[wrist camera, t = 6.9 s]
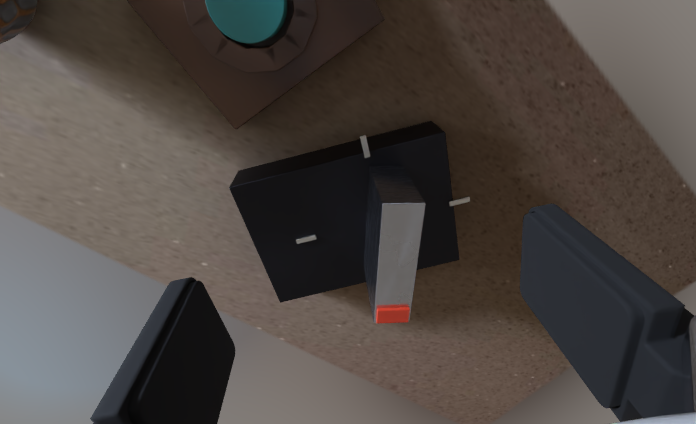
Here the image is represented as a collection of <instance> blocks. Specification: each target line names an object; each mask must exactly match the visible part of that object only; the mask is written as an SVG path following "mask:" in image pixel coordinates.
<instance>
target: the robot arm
mask: <svg viewBox="0 0 696 424" xmlns="http://www.w3.org/2000/svg"><path fill="white" fill-rule="evenodd" d="M520 291H521V294H522V297H523V299H524V300H525V302H526V303H527V304H528V306H529V307H530V308H531V310H532V311H533V313H534V314H535V315H536V317H537V318H538V319H539V321H540V322H541V324H542V325H543V326H544V328H545V329H546V330H547V332H548V333H549V335H550V336H551V337H552V339H553V340H554V341H555V343H556V344H557V346H558V347H559V348H560V350H561V351H562V352H563V354H564V355H565V357H566V358H567V359H568V361H569V362H570V363H571V365H572V366H573V367H574V369H575V370H576V372H577V373H578V374H579V376H580V377H581V379H582V380H583V381H584V383H585V384H586V385H587V387H588V388H589V390H590V391H591V392H592V394H593V395H594V396H595V398H596V399H597V400H598V402H599V403H600V404H601V405H602V406H603V407H605V408H611V410H612V411H613V412H614V414H615V415H616V416H617V418H618V419H619V421H620V422H618V423H611V424H696V316H694V315H692V314H691V313H690V312H689V311H688V310H686V309H685V308H684V306H685V305H684V304H682V303H681V302H680V301H678V300H677V299H676V298H675V297H674V296H672V295H671V294H670V293H668V292H667V291H666V290H665V289H663V288H662V287H661V286H659V285H658V284H657V283H656V282H654V281H653V280H652V279H650V278H649V277H648V276H647V275H645V274H644V273H643V272H641V271H640V270H639V269H638V268H636V267H635V266H634V265H633V264H631V263H630V262H629V261H627V260H626V259H625V258H624V257H622V256H621V255H620V254H618V253H617V252H616V251H615V250H613V249H612V248H611V247H609V246H608V245H607V244H606V243H604V242H603V241H602V240H601V239H599V238H598V237H597V236H595V235H594V234H593V233H592V232H590V231H589V230H588V229H586V228H585V227H584V226H583V225H581V224H580V223H579V222H577V221H576V220H575V219H574V218H572V217H571V216H570V215H569V214H567V213H566V212H565V211H563V210H562V209H561V208H560V207H558V206H557V205H555V204H547V205H542V206H538V207H533V208H531V209H530V210H529V214H525V215H524V218H523V234H522V254H521V275H520ZM234 357H235V346H234V343H233V341H232V339H231V337H230V335H229V333H228V331H227V329H226V327H225V325H224V323H223V322H222V320H221V318H220V316H219V314H218V312H217V310H216V308H215V306H214V304H213V302H212V300H211V298H210V296H209V294H208V293H207V291H206V289H205V287H204V285H203V283H202V282H201V281H196V280H195V279H194V278H192V277H190V278H185V279H180V280H175V281H172V282H170V283H169V285H168V286H167V288H166V290H165V292H164V293H163V295H162V297H161V299H160V300H159V302H158V304H157V305H156V307H155V309H154V310H153V312H152V314H151V316H150V317H149V319H148V321H147V322H146V324H145V326H144V328H143V329H142V331H141V333H140V334H139V336H138V338H137V340H136V341H135V343H134V345H133V346H132V348H131V350H130V352H129V353H128V355H127V357H126V359H125V360H124V362H123V364H122V365H121V367H120V369H119V371H118V372H117V374H116V376H115V377H114V379H113V381H112V382H111V384H110V386H109V388H108V389H107V391H106V393H105V395H104V396H103V398H102V400H101V401H100V403H99V405H98V406H97V408H96V410H95V412H94V413H93V415H92V417H91V418H90V419H91V420H92V421H93V422H94V423H93V424H217V422H218V418H219V414H220V411H221V407H222V403H223V399H224V395H225V391H226V387H227V384H228V380H229V376H230V372H231V368H232V364H233V360H234ZM640 418H643V419H640ZM635 419H637V420H635ZM629 420H630V421H629ZM623 421H624V422H623Z"/></svg>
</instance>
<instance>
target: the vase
mask: <svg viewBox="0 0 696 424" xmlns="http://www.w3.org/2000/svg"><path fill="white" fill-rule="evenodd" d="M36 7H37V0H0V44H1V43H3V42H5V41H8V40H10V39H12V38H13V37H15V36H16V35H18V34H19V33H21V32H22V31H23V30H24V29H25V28H26V27H27V25H28V24H29V23H30V22H31V20H32V18H33V16H34V14H35V11H36Z"/></svg>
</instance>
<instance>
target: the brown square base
mask: <svg viewBox="0 0 696 424" xmlns="http://www.w3.org/2000/svg"><path fill="white" fill-rule="evenodd" d="M127 1H128V3H129V4H130V5H131V6H132V7H133V8H134V10H135V11H136V12H137V13H138V14H139V16H140V17H141V18H142V19H143V20H144V22H145V23H146V24H147V25H148V26H149V27H150V29H151V30H152V31H153V32H154V33H155V35H156V36H157V37H158V38H159V39H160V41H161V42H162V43H163V44H164V45H165V46H166V48H167V49H168V50H169V51H170V52H171V54H172V55H173V56H174V57H175V58H176V60H177V61H178V62H179V63H180V64H181V65H182V67H183V68H184V69H185V70H186V71H187V73H188V74H189V75H190V76H191V77H192V79H193V80H194V81H195V82H196V83H197V84H198V86H199V87H200V88H201V89H202V90H203V92H204V93H205V94H206V95H207V96H208V98H209V99H210V100H211V101H212V102H213V103H214V105H215V106H216V107H217V108H218V109H219V111H220V112H221V113H222V114H223V115H224V117H225V118H226V119H227V120H228V121H229V122H230V124H231V125H232V126H233V127H234V128H235V129H238V128H239V127H240V126H242V125H243V124H244V123H246V122H247V121H248V120H250V119H251V118H252V117H254V116H255V115H257V114H258V113H259V112H261V111H262V110H263V109H265V108H266V107H267V106H269V105H270V104H271V103H273V102H274V101H275V100H277V99H278V98H279V97H281V96H282V95H283V94H285V93H286V92H288V91H289V90H290V89H292V88H293V87H294V86H296V85H297V84H298V83H300V82H301V81H302V80H304V79H305V78H306V77H308V76H309V75H310V74H312V73H313V72H315V71H316V70H317V69H319V68H320V67H321V66H323V65H324V64H325V63H327V62H328V61H329V60H331V59H332V58H333V57H335V56H336V55H337V54H339V53H340V52H341V51H343V50H344V49H346V48H347V47H348V46H350V45H351V44H352V43H354V42H355V41H356V40H358V39H359V38H360V37H362V36H363V35H364V34H366V33H367V32H368V31H370V30H371V29H373V28H374V27H375V26H377V25H378V24H379V23H381V22H382V21H383V20H384V16H383V14H382V13H381V11H380V9H379V7H378V5H377V3H376V1H375V0H287V15H286V19H285V22H284V24H283V26H282V28H281V29H280V31H279V32H278V33H277V34H276V35H275V36H273V37H272V38H270V39H268V40H266V41H263V42H259V43H253V44H247V43H241V42H238V41H235V40H233V39H231V38H229V37H228V36H226V35H225V34H224V33H223V32H222V31H221V30H220V29H219V28H218V27H217V26H216V25H215V23H214V22H213V20H212V18H211V17H210V15H209V12H208V10H207V6H206V2H205V0H127Z"/></svg>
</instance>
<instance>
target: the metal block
mask: <svg viewBox="0 0 696 424" xmlns="http://www.w3.org/2000/svg"><path fill="white" fill-rule="evenodd" d="M425 205H426V203H425V201H424V200H423V198H422V196H421V195H420V193H419V191H418V190H417V188H416V186H415V185H414V183H413V181H412V180H411V178H410V176H409V175H408V173H407V171H406V170H405V168H404V166H403V165H370V166H369V175H368V194H367V213H366V232H365V251H364V272H365V278H366V283H367V289H368V294H369V300H370V305H371V311H372V317H373V322H374V323H401V322H408V321H409V320H410V313H411V306H412V298H413V291H414V284H415V277H416V270H417V262H418V255H419V248H420V241H421V233H422V226H423V219H424V212H425Z"/></svg>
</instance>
